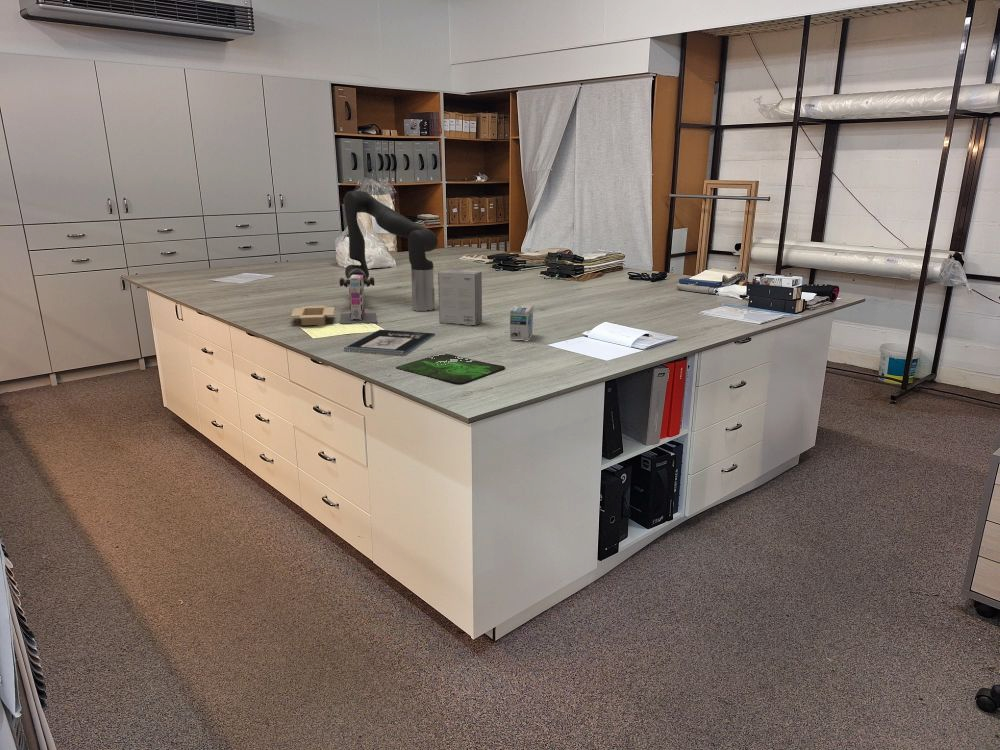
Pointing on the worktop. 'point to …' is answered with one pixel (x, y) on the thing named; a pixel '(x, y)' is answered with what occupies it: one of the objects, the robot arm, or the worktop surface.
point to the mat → (366, 319)
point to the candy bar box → (356, 297)
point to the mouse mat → (451, 369)
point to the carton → (313, 314)
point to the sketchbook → (390, 342)
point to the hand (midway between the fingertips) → (357, 284)
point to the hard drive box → (460, 297)
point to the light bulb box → (521, 322)
